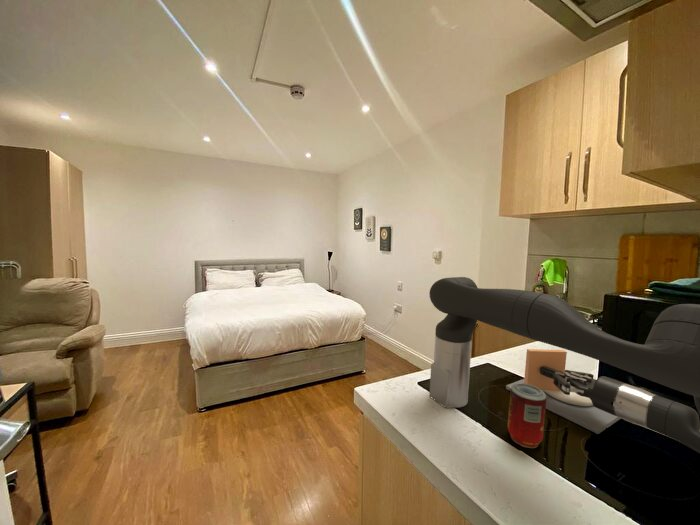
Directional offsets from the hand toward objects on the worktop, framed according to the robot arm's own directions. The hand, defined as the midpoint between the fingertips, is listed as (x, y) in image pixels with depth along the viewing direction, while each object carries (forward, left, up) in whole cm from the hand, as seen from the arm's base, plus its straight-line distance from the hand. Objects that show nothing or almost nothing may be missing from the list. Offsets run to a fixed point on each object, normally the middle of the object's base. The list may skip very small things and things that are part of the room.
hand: (541, 369), depth 79 cm
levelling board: (+8, -3, -8) cm, 12 cm away
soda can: (-20, -7, -9) cm, 23 cm away
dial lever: (+5, -2, -7) cm, 9 cm away
